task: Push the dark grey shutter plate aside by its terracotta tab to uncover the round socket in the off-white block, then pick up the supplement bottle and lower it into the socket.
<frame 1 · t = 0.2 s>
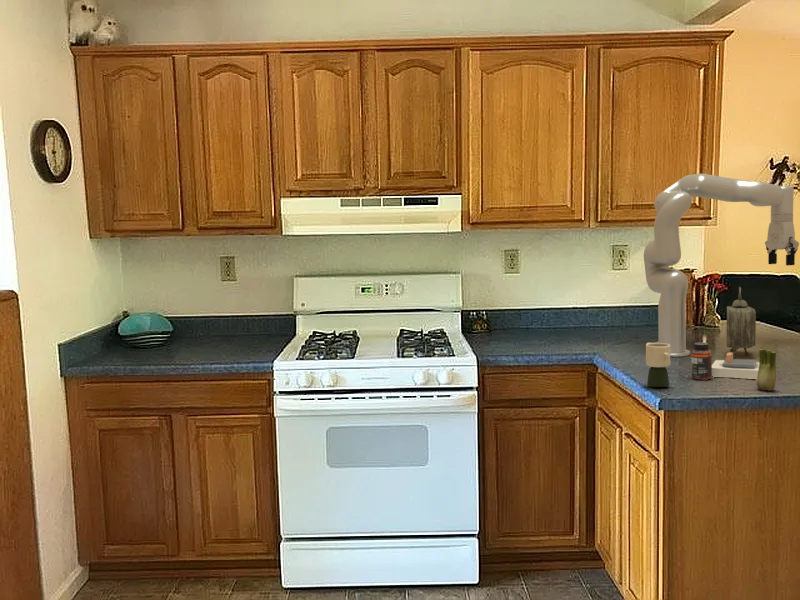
hand: (781, 264, 282), 31 cm above the countertop, tool pointing down, fingers open, 9 cm apart
socket block: (739, 374, 239), on the countertop
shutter: (739, 359, 238), point 5 cm above the countertop, slide at 0.0 cm
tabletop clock: (740, 356, 269), on the countertop
supplement bottle: (701, 379, 235), on the countertop
fennel bulb: (765, 390, 217), on the countertop
character mug: (658, 387, 227), on the countertop
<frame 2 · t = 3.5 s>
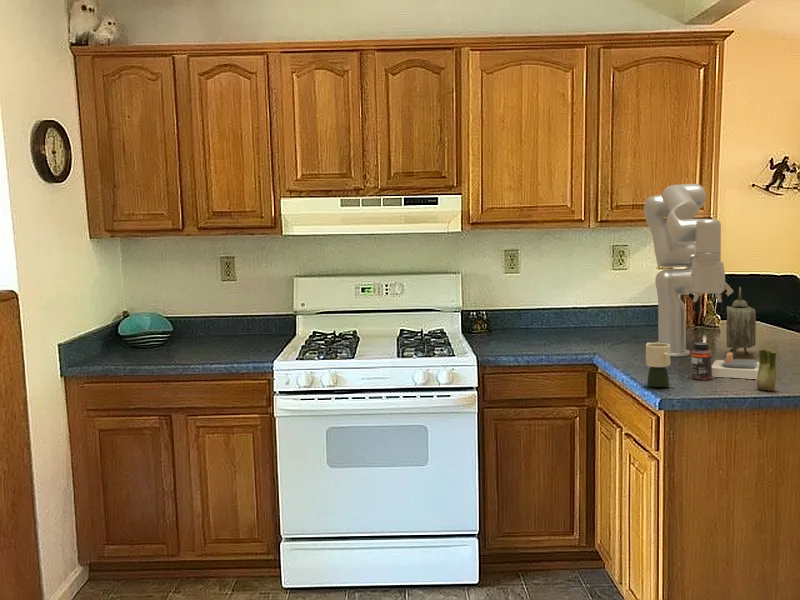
hand: (707, 313, 242), 19 cm above the countertop, tool pointing down, fingers open, 5 cm apart
nothing on the countertop moved.
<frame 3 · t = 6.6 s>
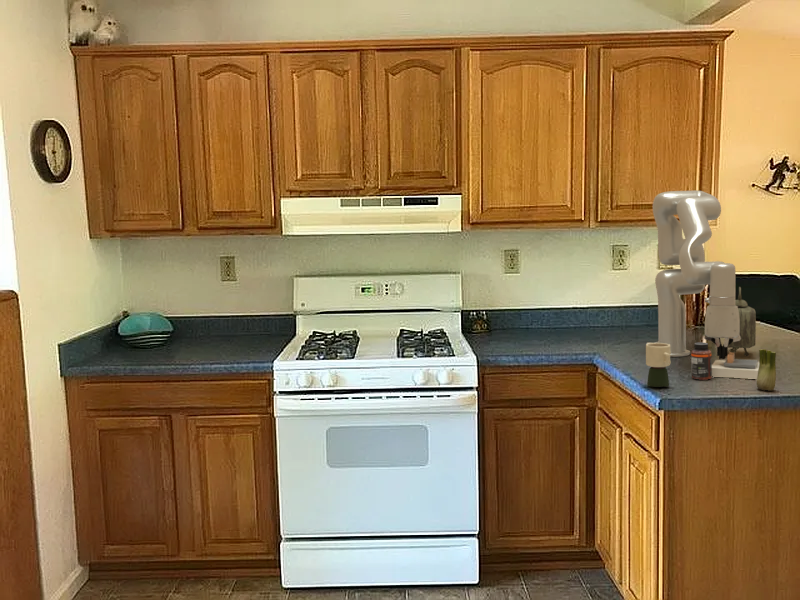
hand: (722, 358, 241), 5 cm above the countertop, tool pointing down, fingers closed
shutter: (741, 359, 238), point 5 cm above the countertop, slide at 0.4 cm, touching gripper
everything else where it was.
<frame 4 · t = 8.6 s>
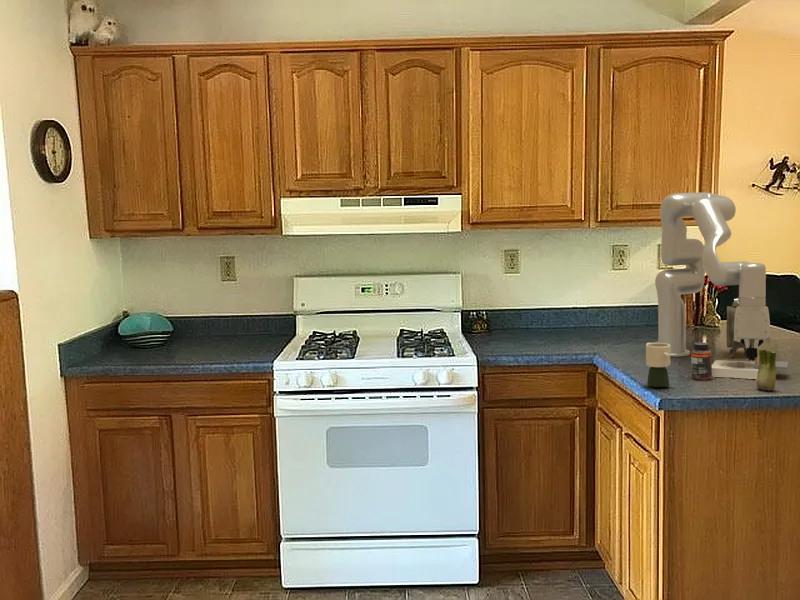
hand: (751, 359, 236), 5 cm above the countertop, tool pointing down, fingers closed
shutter: (771, 360, 234), point 5 cm above the countertop, slide at 9.0 cm, touching gripper
everything else where it was.
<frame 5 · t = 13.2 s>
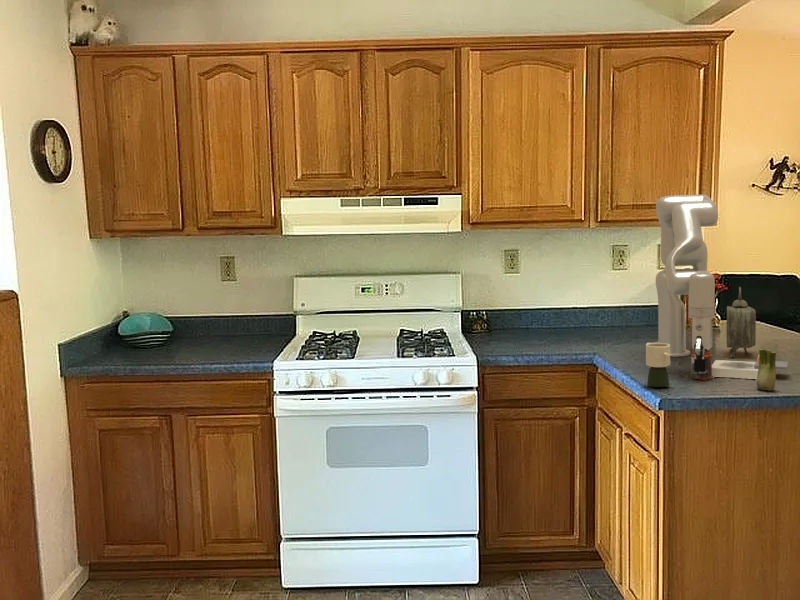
hand: (701, 369, 235), 3 cm above the countertop, tool pointing down, fingers closed on supplement bottle, 6 cm apart
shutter: (771, 360, 234), point 5 cm above the countertop, slide at 9.1 cm
supplement bottle: (701, 379, 235), on the countertop, touching gripper
everything else where it was.
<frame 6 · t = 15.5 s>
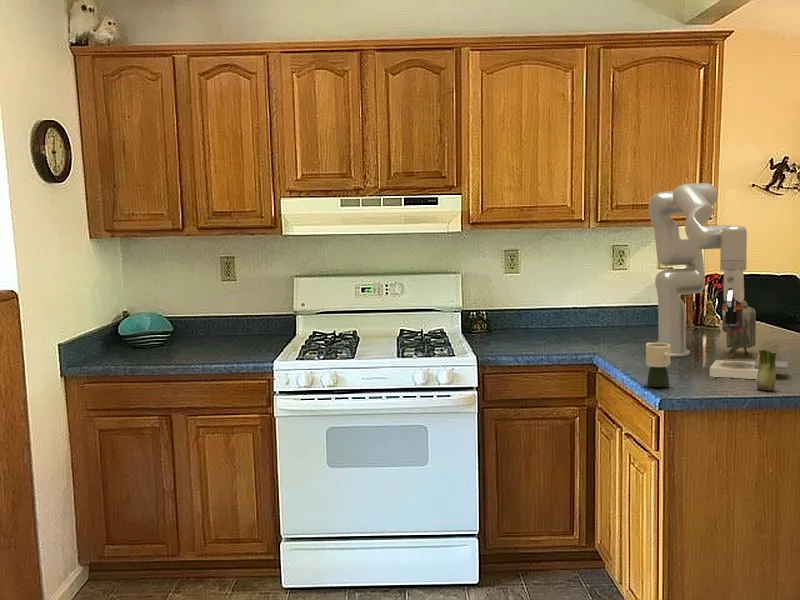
hand: (732, 321, 237), 17 cm above the countertop, tool pointing down, fingers closed on supplement bottle, 6 cm apart
supplement bottle: (732, 332, 237), point 14 cm above the countertop, touching gripper
everything else where it was.
when the fingers open (4 cm above the countertop, at t = 18.0 s): supplement bottle drops 1 cm, resting in socket block.
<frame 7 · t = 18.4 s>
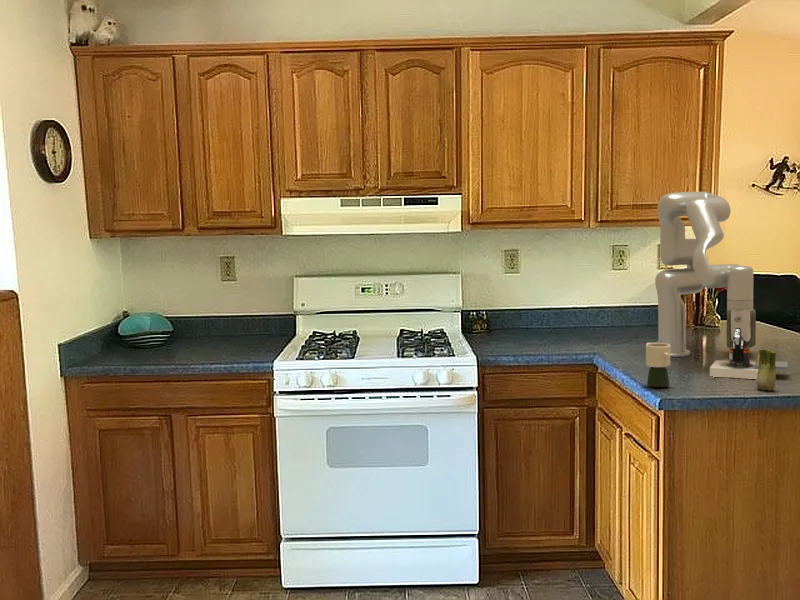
hand: (739, 358, 238), 5 cm above the countertop, tool pointing down, fingers open, 9 cm apart
supplement bottle: (739, 375, 239), resting in socket block
everything else where it was.
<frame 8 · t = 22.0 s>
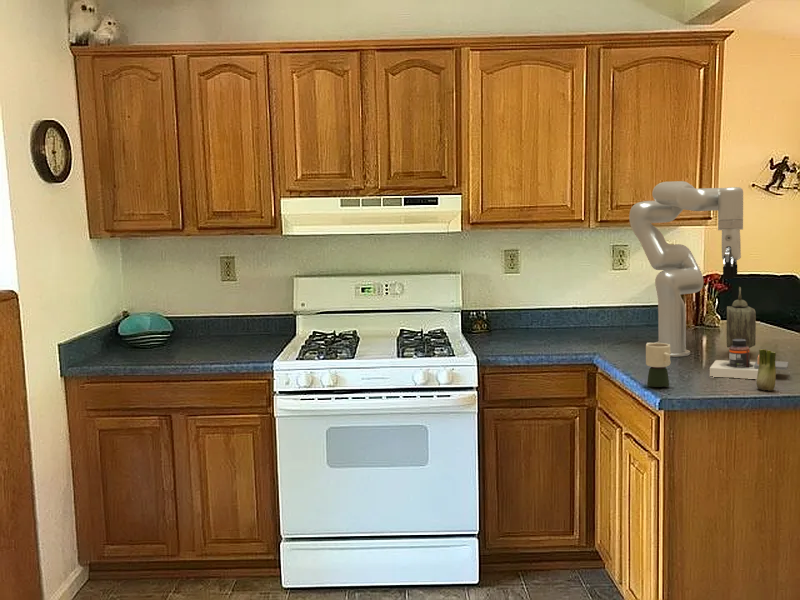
hand: (730, 277, 246), 30 cm above the countertop, tool pointing down, fingers open, 9 cm apart
nothing on the countertop moved.
at the end: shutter slide at 9.1 cm; supplement bottle 0.1 cm off-centre on the socket block, point 0.0 cm above the socket block's base; supplement bottle tilted 0° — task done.
